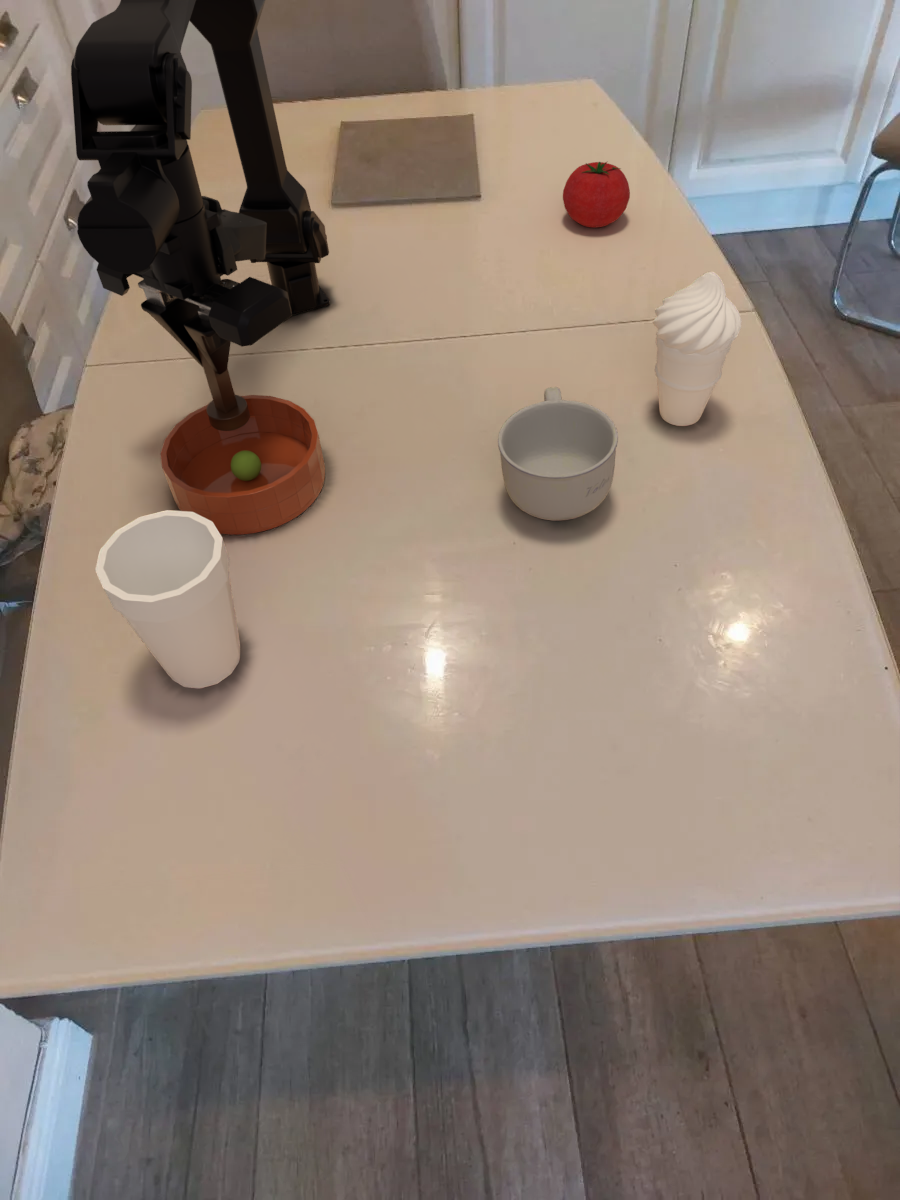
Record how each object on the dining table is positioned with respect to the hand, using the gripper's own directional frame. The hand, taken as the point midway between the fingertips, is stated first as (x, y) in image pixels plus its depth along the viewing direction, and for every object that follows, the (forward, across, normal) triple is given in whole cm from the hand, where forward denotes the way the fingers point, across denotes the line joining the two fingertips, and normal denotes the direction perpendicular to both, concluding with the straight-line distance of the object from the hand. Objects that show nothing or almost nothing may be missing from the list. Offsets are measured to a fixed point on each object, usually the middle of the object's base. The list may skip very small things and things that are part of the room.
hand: (215, 368), depth 86 cm
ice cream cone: (+11, -35, -30) cm, 48 cm away
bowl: (+11, -3, +2) cm, 12 cm away
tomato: (+11, -7, -62) cm, 63 cm away
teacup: (+11, -30, -14) cm, 35 cm away
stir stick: (+6, 0, 0) cm, 6 cm away
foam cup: (+11, -16, +21) cm, 28 cm away
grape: (+9, -3, +2) cm, 10 cm away
